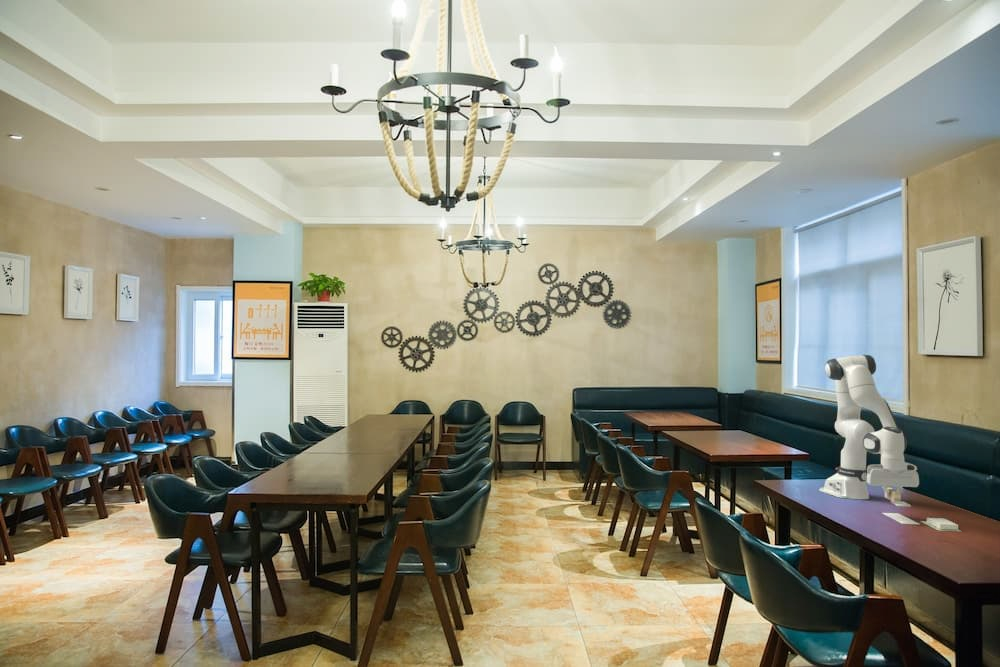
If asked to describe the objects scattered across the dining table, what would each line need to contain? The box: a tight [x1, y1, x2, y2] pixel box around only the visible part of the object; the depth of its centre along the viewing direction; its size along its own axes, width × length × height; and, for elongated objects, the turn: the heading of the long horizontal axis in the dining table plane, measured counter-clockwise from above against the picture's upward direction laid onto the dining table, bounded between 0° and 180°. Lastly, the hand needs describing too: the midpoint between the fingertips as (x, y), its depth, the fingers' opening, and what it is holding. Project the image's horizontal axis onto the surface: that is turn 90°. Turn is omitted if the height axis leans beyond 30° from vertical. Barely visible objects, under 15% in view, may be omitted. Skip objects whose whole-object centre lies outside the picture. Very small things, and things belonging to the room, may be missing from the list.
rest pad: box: [882, 512, 921, 525], centre depth 270 cm, size 16×7×1 cm, turn 176°
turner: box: [884, 486, 912, 508], centre depth 270 cm, size 15×5×4 cm, turn 172°
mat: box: [920, 520, 961, 532], centre depth 260 cm, size 13×9×1 cm
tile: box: [926, 517, 959, 530], centre depth 259 cm, size 2×7×9 cm
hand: (892, 496), depth 273 cm, fingers closed on turner, 2 cm apart
